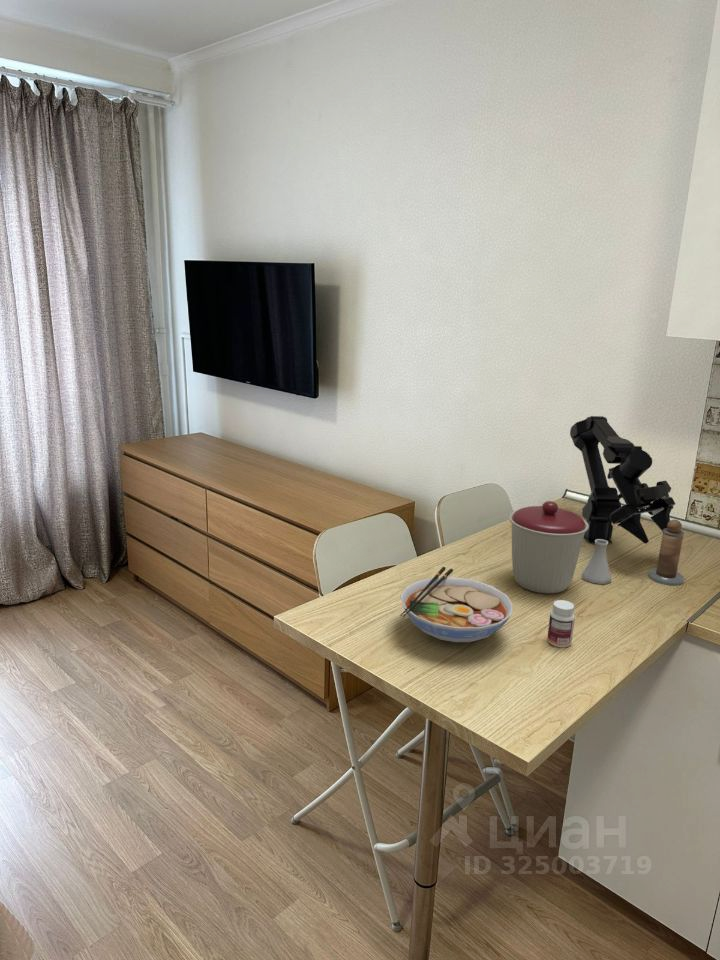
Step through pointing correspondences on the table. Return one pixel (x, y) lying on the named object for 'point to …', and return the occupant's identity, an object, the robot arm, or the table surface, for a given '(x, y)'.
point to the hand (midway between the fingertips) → (659, 539)
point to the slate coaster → (667, 581)
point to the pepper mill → (670, 550)
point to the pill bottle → (561, 624)
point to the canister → (545, 546)
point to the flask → (598, 565)
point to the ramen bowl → (455, 607)
